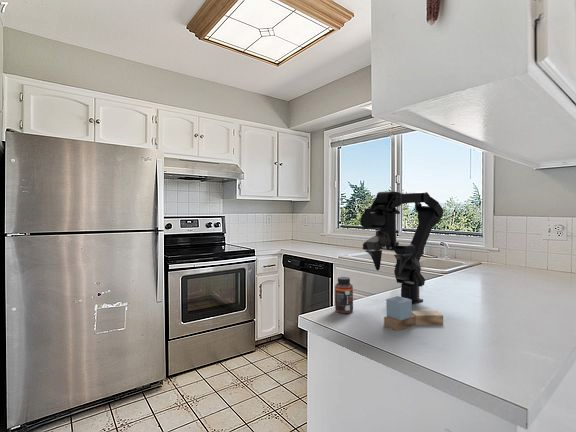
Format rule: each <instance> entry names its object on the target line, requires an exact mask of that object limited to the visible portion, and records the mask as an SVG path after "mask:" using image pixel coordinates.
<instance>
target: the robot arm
mask: <svg viewBox="0 0 576 432" xmlns="http://www.w3.org/2000/svg"><path fill="white" fill-rule="evenodd" d="M413 203H414V210H415V211H416V212H417V216H416V217H417V220H418V224H417V226H416V230H415V231H414V235H413V237H412V239H411V241H410V244H406V243H404V244H403V243H402V244H400V242H398V241H397V234H399V233H400V231H399V230H398V229H397V215H400V214H401V212H400V211H399V210H398V209H397V207H401V206H402V205H403V204H413ZM422 203H424V204H422ZM443 215H444V208H443V207H442V206H441V204H440V203H439V201H437V199H435V198H433V197H431V195H430V194H429V193H428V192H427V191H416V192H409V193H408V192H407V193H404V192H403V193H402V192H400V191H395V190H389V191H387V190H386V191H378V192H377V194H376V195H375V197H374V200H373V202H372V204H371V206H370V207H367V208H364V212H363V213H362V214H361V216H360V218H359V220H360V221H359V223H360V225H361V226H362V228H364V229H367V230H369V229H371V230H372V229H377V230H376V231H375V235H374V236H371V237H370V238H368V239H367V240H365V241H364V242H363V243H362V250H364V251H365V252H366V253H368V254H369V255H370V258H371V259H372V262H373V264H374V268H375V270H376V271H380V268H381V261H382V254H383V250H384V251H392V252H394V253H395V254H393V256H394V257H395V260H396V263H395V265H394V277H395V281H396V283H397V284H401V287H400V297H403V298H407V299H411V300H412V304H416V303H417V304H418V303H420V302H424V298H423V299H422V298H420V287H423V286H424V285H425V282H426V278H424V276H423V275H422V273H421V270H422V266H421V263H420V260H421V257H422V255H423V253H424V250H425V247H426V245H427V243H428V239H429V237H430V234H431V232H432V229H433V227H435V226H436V225H438V224H439V223H440V221H441V219H442V217H443Z"/></svg>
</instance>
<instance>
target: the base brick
mask: <svg viewBox="0 0 576 432" xmlns="http://www.w3.org/2000/svg"><path fill="white" fill-rule="evenodd" d="M383 326H384V327H386V328H388V329H391V330H393V331H399V330H403V329H405V328H409V327H412V326H415V316H413V315H412V317H410V318H407V319H404V320H398V319H395V318H392V317H389V316H387V315H386V316H384V317H383Z"/></svg>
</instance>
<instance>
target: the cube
mask: <svg viewBox="0 0 576 432" xmlns="http://www.w3.org/2000/svg"><path fill="white" fill-rule="evenodd" d="M385 301H386V303H385V304H386V305H385V306H386V316H389V317H392V318H395V319H398V320H404V319H407V318H410V317H412V311H413V306H412V300H411V299H407V298H403V297H401V296H398V295H397V296H392V297H389V298H386V299H385Z"/></svg>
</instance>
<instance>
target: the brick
mask: <svg viewBox="0 0 576 432" xmlns="http://www.w3.org/2000/svg"><path fill="white" fill-rule="evenodd" d="M412 315H413V316H415V325H416V326H417V325H419V326H420V325H421V326H422V325H427V326H428V325H430V326H431V325H444V315H443V314H442V313H441V312H439V311H438V310H412ZM415 325H414V326H415Z"/></svg>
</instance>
